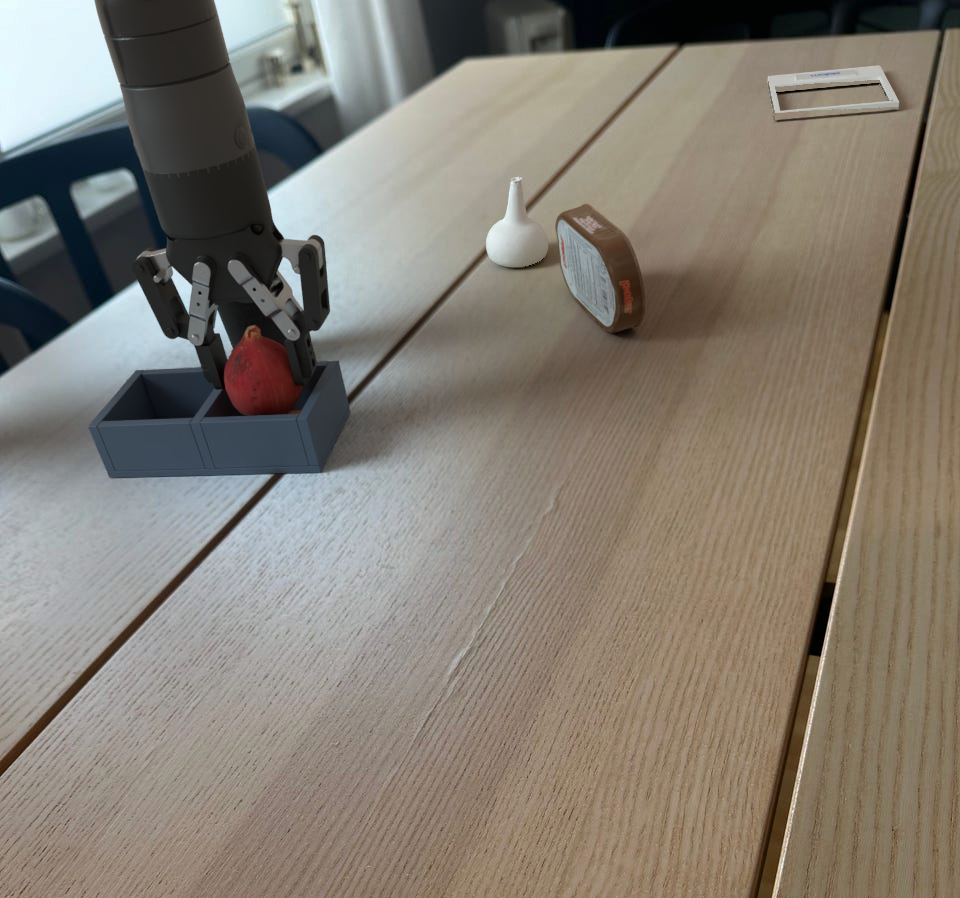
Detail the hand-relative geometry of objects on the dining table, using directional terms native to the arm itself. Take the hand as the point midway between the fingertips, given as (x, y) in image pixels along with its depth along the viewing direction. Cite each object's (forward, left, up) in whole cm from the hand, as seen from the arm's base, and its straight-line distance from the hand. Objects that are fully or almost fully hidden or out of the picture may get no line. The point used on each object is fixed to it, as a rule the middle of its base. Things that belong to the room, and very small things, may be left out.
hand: (263, 382), depth 77 cm
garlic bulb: (+15, +35, -5) cm, 38 cm away
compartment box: (-4, 0, -5) cm, 7 cm away
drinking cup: (-6, +15, -5) cm, 17 cm away
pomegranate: (0, 0, -4) cm, 4 cm away
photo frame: (+50, +84, -5) cm, 98 cm away
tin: (+24, +21, -5) cm, 32 cm away
